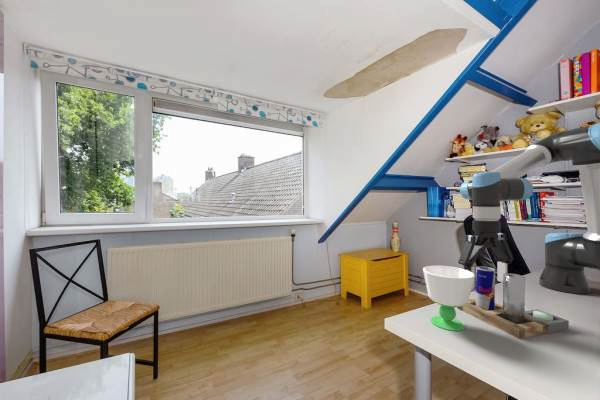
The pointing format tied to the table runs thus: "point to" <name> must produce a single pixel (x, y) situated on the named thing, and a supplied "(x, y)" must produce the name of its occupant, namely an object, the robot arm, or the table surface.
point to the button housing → (552, 322)
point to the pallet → (506, 321)
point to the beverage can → (485, 288)
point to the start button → (543, 315)
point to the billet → (514, 298)
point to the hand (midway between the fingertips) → (486, 284)
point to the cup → (448, 293)
